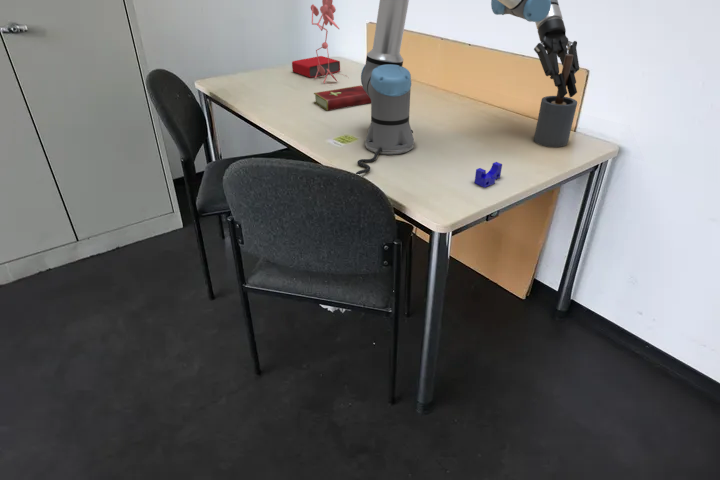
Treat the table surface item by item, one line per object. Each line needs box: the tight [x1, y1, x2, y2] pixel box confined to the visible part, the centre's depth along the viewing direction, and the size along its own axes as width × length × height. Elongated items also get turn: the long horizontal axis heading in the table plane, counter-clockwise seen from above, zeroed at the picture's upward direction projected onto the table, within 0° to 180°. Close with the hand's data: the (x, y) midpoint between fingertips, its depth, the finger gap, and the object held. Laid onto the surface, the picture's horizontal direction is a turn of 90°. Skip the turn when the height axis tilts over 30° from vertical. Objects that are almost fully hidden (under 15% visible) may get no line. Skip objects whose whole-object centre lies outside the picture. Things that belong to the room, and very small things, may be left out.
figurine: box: [310, 0, 349, 84], centre depth 210 cm, size 15×26×35 cm, turn 29°
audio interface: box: [291, 55, 341, 78], centre depth 229 cm, size 18×14×5 cm
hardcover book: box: [313, 84, 371, 112], centre depth 189 cm, size 12×21×4 cm, turn 118°
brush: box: [551, 54, 574, 105], centre depth 145 cm, size 4×4×22 cm
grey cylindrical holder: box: [533, 95, 578, 148], centre depth 150 cm, size 10×10×13 cm
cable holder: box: [474, 161, 503, 188], centre depth 129 cm, size 8×4×4 cm, turn 126°
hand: (568, 95), depth 142 cm, fingers open, 2 cm apart
